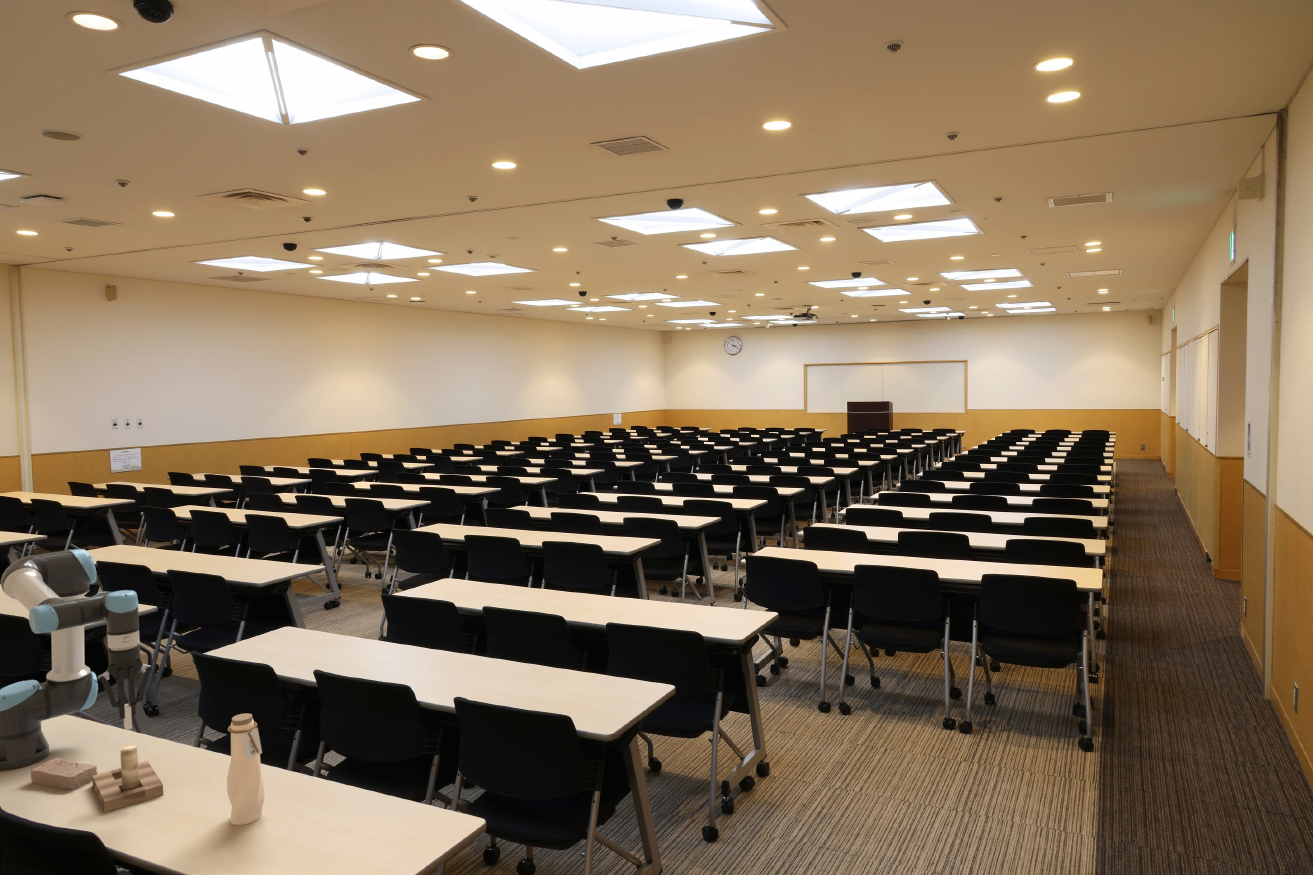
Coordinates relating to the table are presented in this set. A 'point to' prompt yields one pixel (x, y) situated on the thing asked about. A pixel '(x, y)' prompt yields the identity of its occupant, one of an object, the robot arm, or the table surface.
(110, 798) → the board
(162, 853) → the table surface
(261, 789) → the water bottle
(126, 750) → the peg
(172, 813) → the table surface
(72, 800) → the table surface
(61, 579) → the robot arm
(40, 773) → the brick
